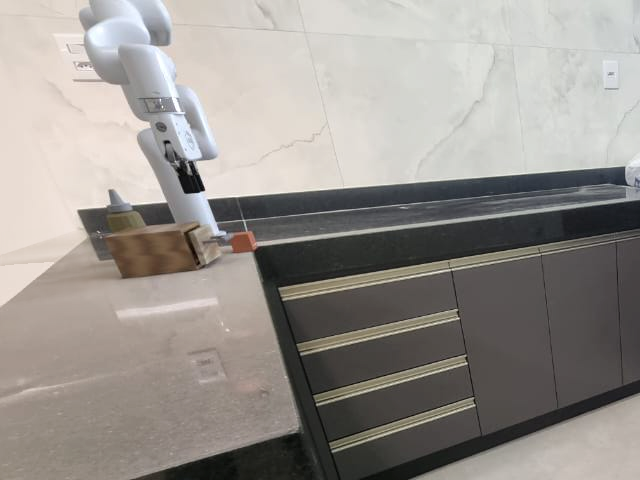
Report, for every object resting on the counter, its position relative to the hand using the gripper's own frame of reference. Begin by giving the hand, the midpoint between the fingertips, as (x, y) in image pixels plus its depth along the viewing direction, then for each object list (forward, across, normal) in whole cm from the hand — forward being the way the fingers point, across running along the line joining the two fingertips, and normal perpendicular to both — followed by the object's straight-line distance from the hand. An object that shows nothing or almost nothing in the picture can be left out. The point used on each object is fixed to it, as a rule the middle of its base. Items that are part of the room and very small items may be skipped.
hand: (195, 191), depth 127 cm
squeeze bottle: (+17, +15, +22) cm, 32 cm away
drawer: (+16, 0, +6) cm, 17 cm away
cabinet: (+17, 0, +11) cm, 20 cm away
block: (+17, +13, -2) cm, 22 cm away
